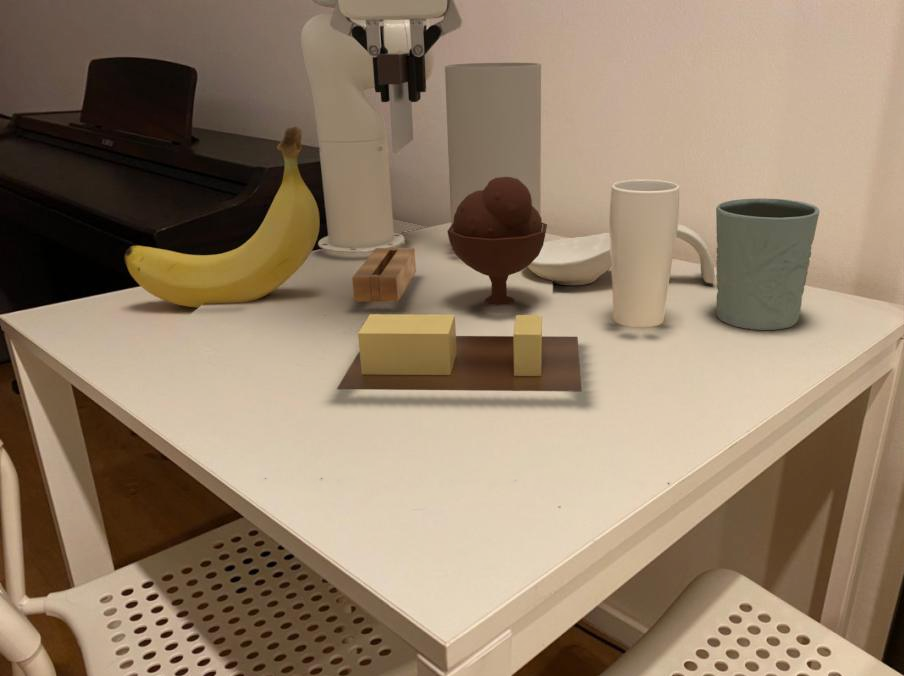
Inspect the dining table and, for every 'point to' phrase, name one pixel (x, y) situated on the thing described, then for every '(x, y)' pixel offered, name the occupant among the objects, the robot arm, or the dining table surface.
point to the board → (485, 369)
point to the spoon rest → (598, 258)
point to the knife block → (384, 274)
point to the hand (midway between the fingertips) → (401, 99)
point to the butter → (407, 344)
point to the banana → (239, 250)
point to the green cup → (763, 261)
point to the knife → (397, 96)
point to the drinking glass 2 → (642, 249)
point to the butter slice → (527, 345)
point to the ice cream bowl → (498, 233)
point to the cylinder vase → (493, 127)
